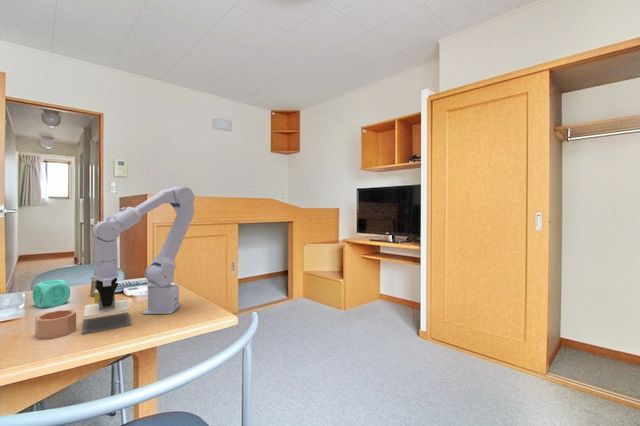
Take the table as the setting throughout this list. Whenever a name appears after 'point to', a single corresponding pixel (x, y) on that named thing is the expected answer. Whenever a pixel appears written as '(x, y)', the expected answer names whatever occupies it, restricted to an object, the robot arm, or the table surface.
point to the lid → (105, 308)
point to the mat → (105, 323)
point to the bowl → (55, 324)
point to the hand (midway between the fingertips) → (107, 304)
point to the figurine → (93, 287)
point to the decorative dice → (51, 293)
